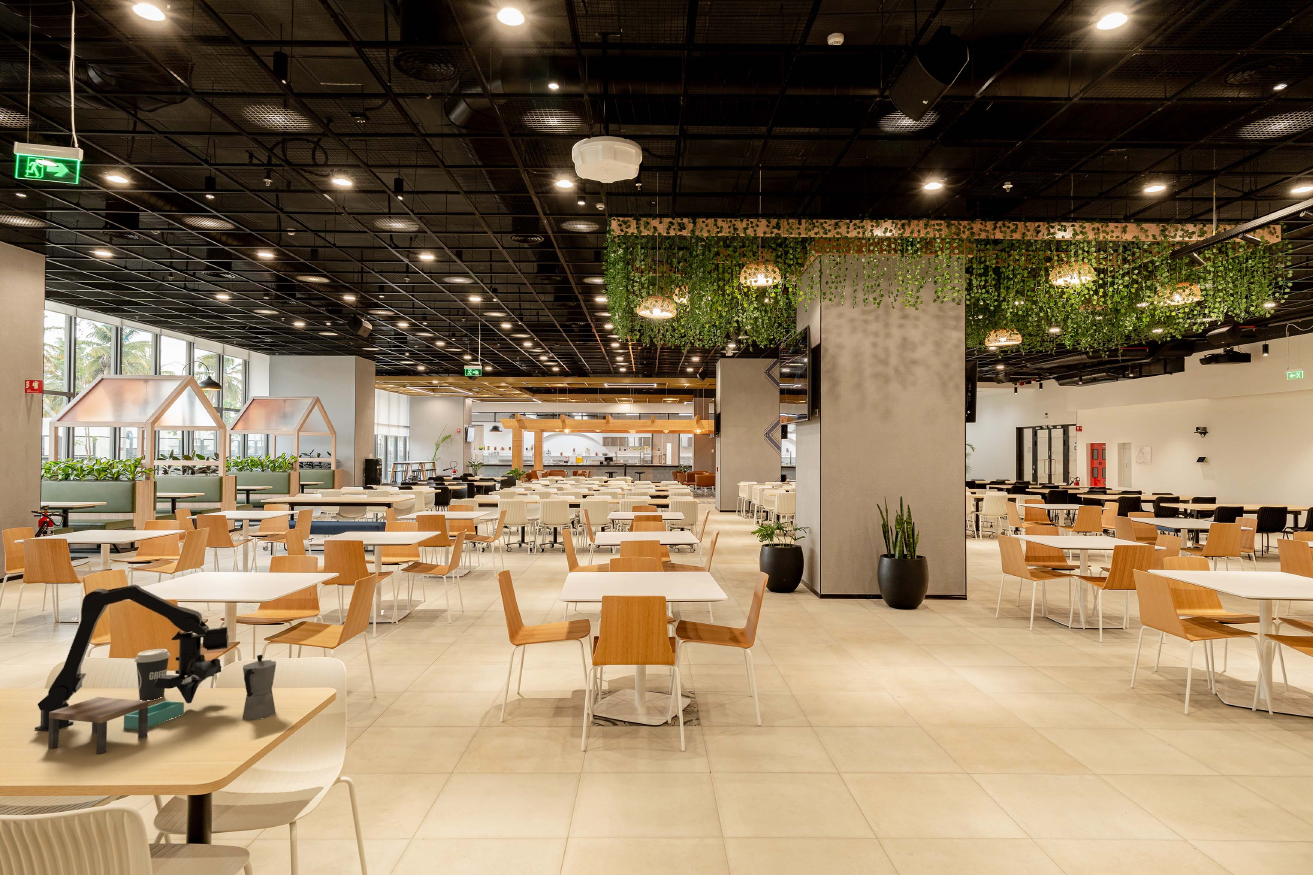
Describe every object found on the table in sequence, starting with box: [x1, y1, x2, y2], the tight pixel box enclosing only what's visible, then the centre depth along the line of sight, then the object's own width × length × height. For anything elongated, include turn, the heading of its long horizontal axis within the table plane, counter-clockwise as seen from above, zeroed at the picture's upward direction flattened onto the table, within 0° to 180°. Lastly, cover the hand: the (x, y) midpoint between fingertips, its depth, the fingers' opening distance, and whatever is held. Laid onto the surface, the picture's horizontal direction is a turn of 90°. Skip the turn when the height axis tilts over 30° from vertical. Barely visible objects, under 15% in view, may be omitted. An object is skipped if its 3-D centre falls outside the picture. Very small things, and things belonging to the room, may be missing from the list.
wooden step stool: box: [47, 696, 149, 755], centre depth 194 cm, size 18×13×10 cm
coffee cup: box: [134, 648, 171, 701], centre depth 231 cm, size 10×10×15 cm
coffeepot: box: [242, 654, 277, 721], centre depth 213 cm, size 15×9×18 cm, turn 6°
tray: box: [123, 700, 185, 730], centre depth 210 cm, size 7×13×4 cm, turn 164°
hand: (189, 702), depth 221 cm, fingers closed
